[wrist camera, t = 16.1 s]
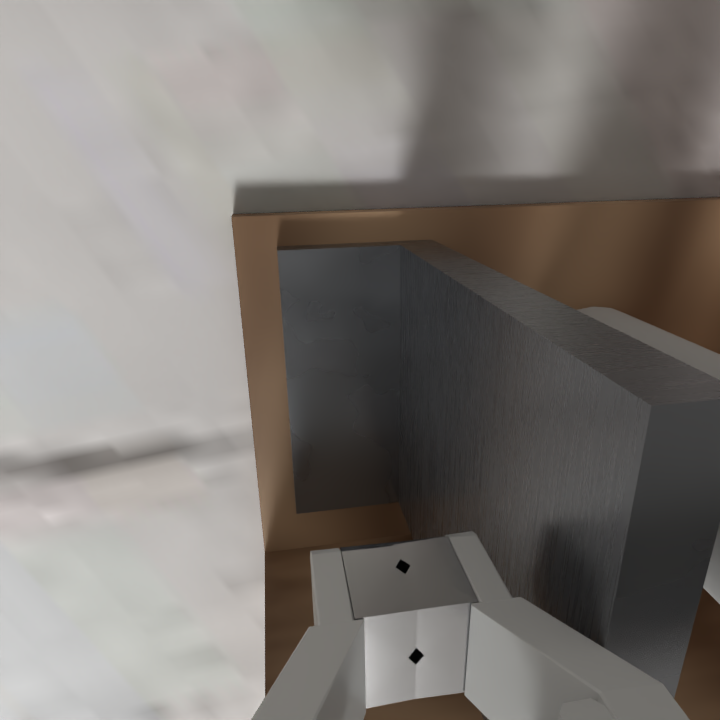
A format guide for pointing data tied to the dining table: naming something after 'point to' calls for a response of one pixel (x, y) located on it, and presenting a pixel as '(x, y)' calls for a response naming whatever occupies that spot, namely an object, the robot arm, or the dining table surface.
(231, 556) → the dining table surface
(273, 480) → the rack
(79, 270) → the dining table surface
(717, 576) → the beverage can
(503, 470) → the bookend
